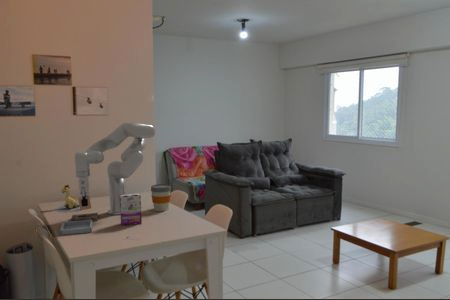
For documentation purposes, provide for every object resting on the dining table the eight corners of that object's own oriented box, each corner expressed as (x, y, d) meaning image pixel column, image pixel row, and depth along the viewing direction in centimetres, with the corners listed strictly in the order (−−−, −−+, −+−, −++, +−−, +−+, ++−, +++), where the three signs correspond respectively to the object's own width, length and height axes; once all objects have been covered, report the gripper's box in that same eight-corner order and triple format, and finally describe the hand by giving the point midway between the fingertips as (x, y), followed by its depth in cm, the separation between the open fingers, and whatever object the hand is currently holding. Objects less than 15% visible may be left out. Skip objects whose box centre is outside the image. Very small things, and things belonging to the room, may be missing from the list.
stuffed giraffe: (67, 204, 253) (66, 181, 251) (90, 207, 248) (89, 183, 245) (49, 211, 238) (48, 187, 236) (73, 215, 233) (72, 189, 230)
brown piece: (97, 216, 225) (97, 212, 225) (97, 220, 216) (97, 216, 215) (72, 218, 221) (72, 214, 221) (71, 223, 211) (70, 218, 211)
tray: (92, 224, 210) (92, 219, 209) (91, 232, 195) (91, 227, 195) (63, 226, 205) (63, 222, 205) (60, 235, 191) (59, 230, 191)
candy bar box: (141, 221, 214) (140, 192, 213) (141, 223, 210) (140, 194, 208) (120, 222, 211) (119, 194, 210) (120, 225, 207) (119, 196, 205)
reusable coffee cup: (173, 206, 245) (173, 184, 244) (168, 212, 233) (168, 188, 231) (154, 206, 247) (154, 183, 245) (148, 211, 234) (148, 187, 233)
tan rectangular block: (91, 207, 220) (89, 195, 219) (91, 208, 217) (89, 196, 216) (80, 209, 219) (78, 197, 218) (80, 210, 216) (78, 198, 215)
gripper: (89, 175, 209) (91, 208, 211) (90, 171, 224) (92, 201, 226) (74, 176, 207) (77, 209, 209) (76, 171, 222) (78, 202, 224)
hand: (84, 205), depth 218 cm, fingers closed on tan rectangular block, 2 cm apart
